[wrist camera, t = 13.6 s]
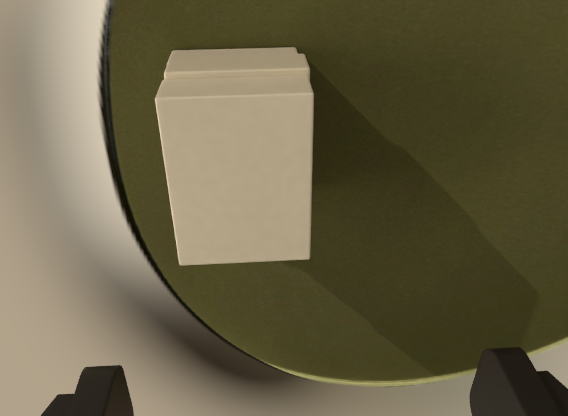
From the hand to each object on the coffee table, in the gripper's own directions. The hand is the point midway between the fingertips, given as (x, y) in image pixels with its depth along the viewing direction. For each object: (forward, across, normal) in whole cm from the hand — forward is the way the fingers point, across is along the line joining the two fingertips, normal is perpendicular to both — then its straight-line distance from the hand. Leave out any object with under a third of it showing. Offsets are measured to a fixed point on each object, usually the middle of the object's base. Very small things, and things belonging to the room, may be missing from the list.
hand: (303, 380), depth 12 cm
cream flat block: (+13, +2, +2) cm, 13 cm away
